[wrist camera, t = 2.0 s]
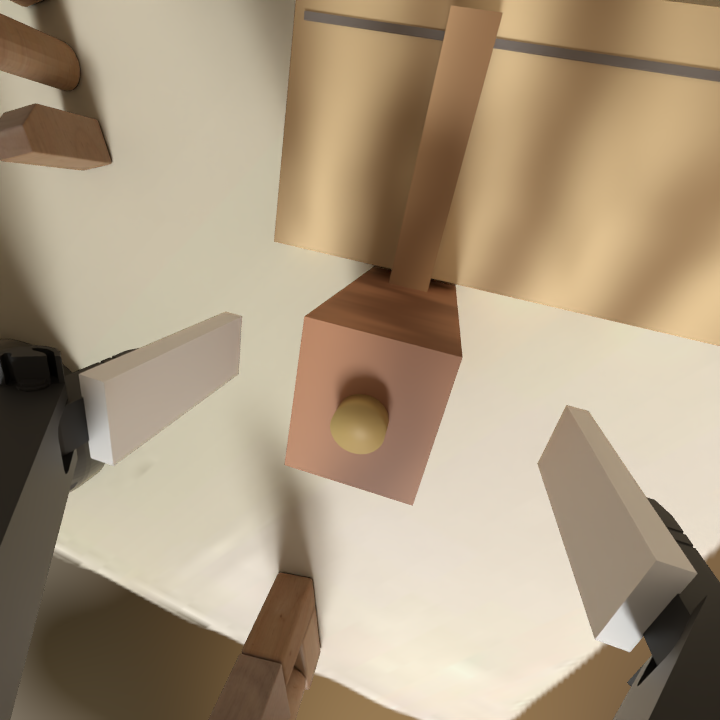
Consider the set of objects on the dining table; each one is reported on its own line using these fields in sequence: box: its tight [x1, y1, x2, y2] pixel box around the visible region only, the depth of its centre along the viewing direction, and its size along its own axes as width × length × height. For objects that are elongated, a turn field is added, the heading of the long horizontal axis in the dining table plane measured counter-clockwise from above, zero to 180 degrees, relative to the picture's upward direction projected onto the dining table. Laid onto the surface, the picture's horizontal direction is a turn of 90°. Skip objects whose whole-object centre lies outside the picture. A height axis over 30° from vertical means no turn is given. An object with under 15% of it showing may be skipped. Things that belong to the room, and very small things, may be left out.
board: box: [274, 0, 720, 346], centre depth 18 cm, size 24×12×3 cm, turn 79°
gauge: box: [285, 6, 503, 506], centre depth 15 cm, size 5×17×13 cm, turn 169°
